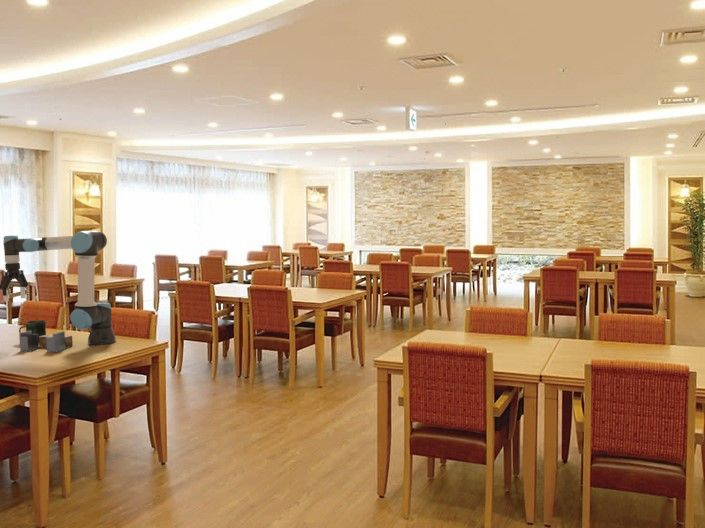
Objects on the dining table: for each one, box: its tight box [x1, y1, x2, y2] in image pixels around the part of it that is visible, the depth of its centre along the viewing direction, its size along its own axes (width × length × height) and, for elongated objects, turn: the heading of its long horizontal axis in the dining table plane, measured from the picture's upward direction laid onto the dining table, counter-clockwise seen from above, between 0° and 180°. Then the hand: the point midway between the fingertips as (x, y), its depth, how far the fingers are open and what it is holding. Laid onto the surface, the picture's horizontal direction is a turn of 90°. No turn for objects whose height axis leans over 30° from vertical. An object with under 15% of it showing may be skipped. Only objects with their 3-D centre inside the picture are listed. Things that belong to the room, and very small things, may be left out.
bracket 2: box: [46, 330, 66, 353], centre depth 378 cm, size 5×9×10 cm, turn 166°
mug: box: [18, 319, 47, 341], centre depth 405 cm, size 11×15×12 cm
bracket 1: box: [18, 330, 40, 352], centre depth 382 cm, size 5×9×10 cm, turn 166°
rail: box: [39, 334, 73, 349], centre depth 391 cm, size 18×5×6 cm, turn 75°
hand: (15, 299), depth 396 cm, fingers open, 13 cm apart
